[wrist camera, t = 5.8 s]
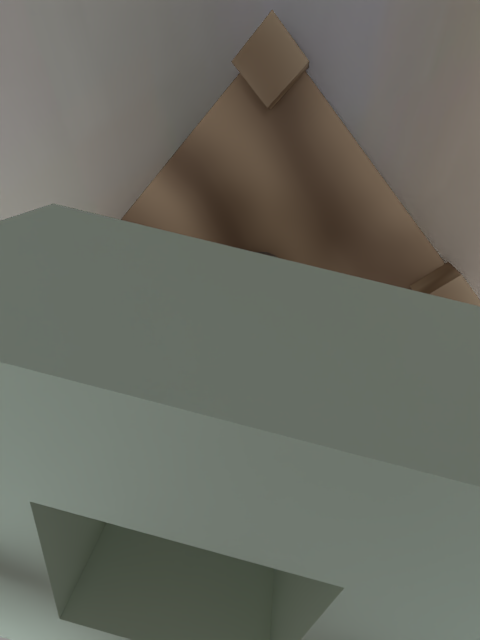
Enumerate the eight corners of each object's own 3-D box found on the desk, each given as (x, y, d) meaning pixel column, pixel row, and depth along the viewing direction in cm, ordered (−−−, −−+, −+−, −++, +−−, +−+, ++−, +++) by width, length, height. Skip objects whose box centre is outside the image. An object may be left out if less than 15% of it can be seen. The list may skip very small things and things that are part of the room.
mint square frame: (53, 203, 9) (-317, 322, 4) (478, 306, 9) (776, 611, 3) (79, 463, 16) (-45, 653, 10) (331, 531, 15) (348, 769, 10)
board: (276, 26, 17) (259, -38, 10) (462, 283, 22) (534, 357, 15) (91, 256, 25) (13, 305, 18) (256, 404, 30) (242, 486, 23)
